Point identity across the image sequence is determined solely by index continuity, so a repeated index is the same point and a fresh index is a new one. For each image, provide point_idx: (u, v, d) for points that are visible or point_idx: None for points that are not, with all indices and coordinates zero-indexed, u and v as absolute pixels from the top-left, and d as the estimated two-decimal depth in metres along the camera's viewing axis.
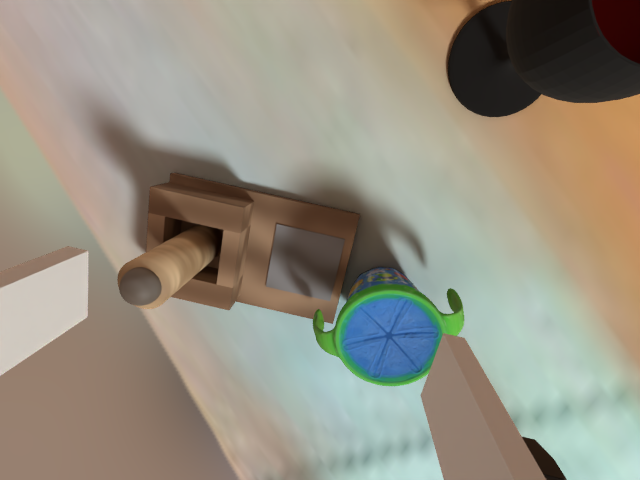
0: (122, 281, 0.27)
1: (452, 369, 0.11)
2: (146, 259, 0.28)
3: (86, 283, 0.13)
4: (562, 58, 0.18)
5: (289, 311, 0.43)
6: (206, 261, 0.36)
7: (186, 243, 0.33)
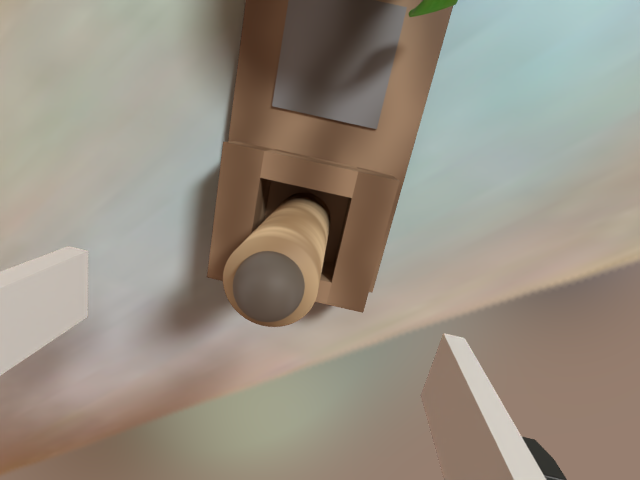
0: (245, 312, 0.15)
1: (451, 369, 0.11)
2: (224, 271, 0.16)
3: (86, 284, 0.13)
4: None
5: (425, 88, 0.25)
6: (305, 206, 0.23)
7: None
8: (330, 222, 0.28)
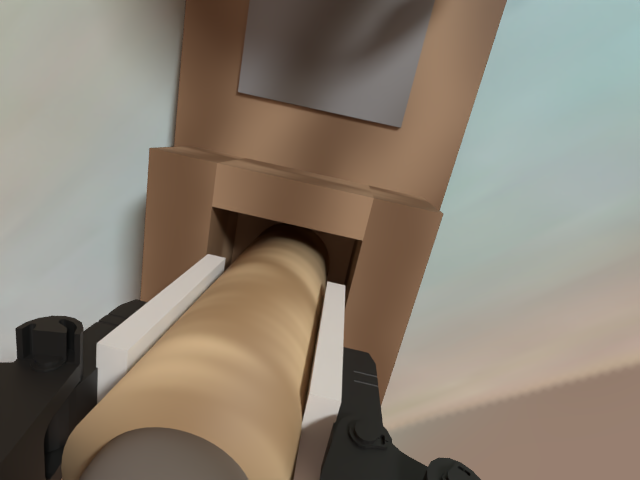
0: None
1: (322, 306, 0.13)
2: (69, 457, 0.07)
3: None
4: None
5: (479, 62, 0.15)
6: (284, 256, 0.13)
7: None
8: (328, 267, 0.18)
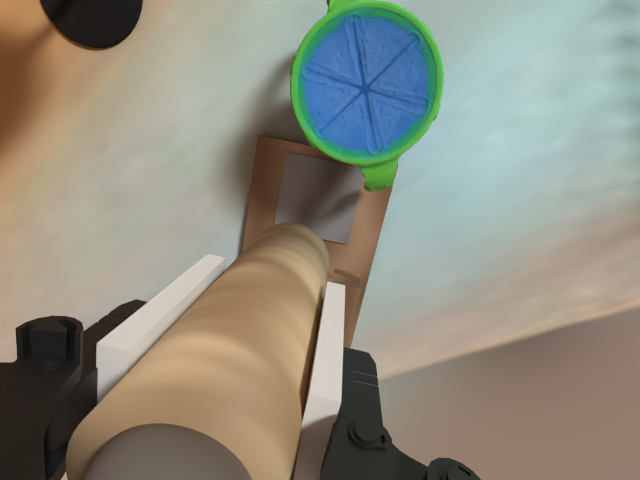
0: None
1: (322, 306, 0.13)
2: (73, 453, 0.07)
3: None
4: None
5: (380, 218, 0.35)
6: (285, 255, 0.14)
7: None
8: None
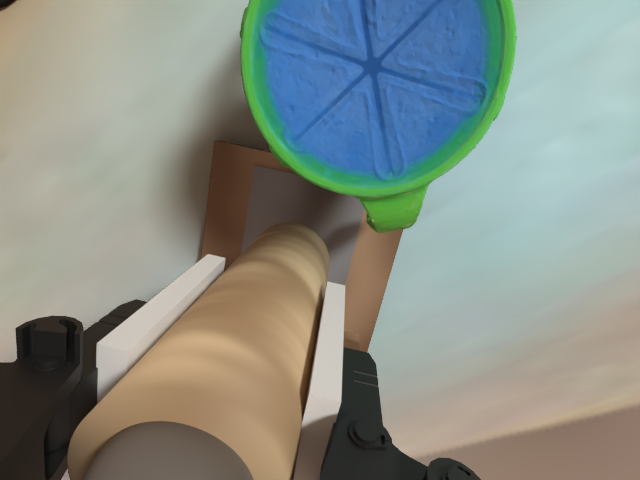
0: None
1: (322, 306, 0.13)
2: (74, 451, 0.07)
3: None
4: None
5: (389, 260, 0.25)
6: (285, 255, 0.14)
7: None
8: None
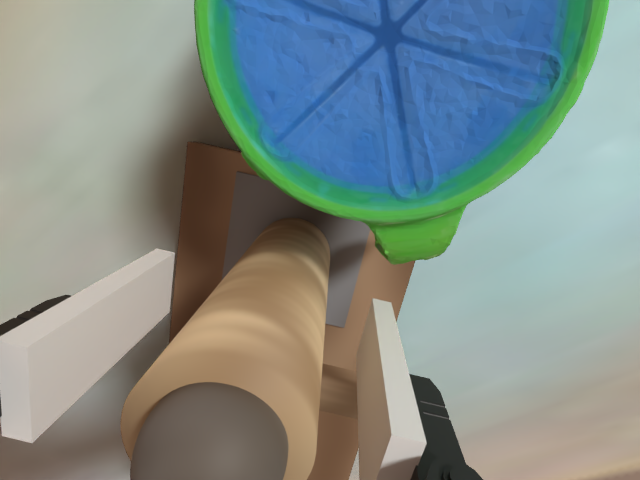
0: None
1: (372, 326, 0.12)
2: (125, 414, 0.08)
3: (171, 282, 0.14)
4: None
5: (401, 287, 0.20)
6: (293, 247, 0.15)
7: None
8: None
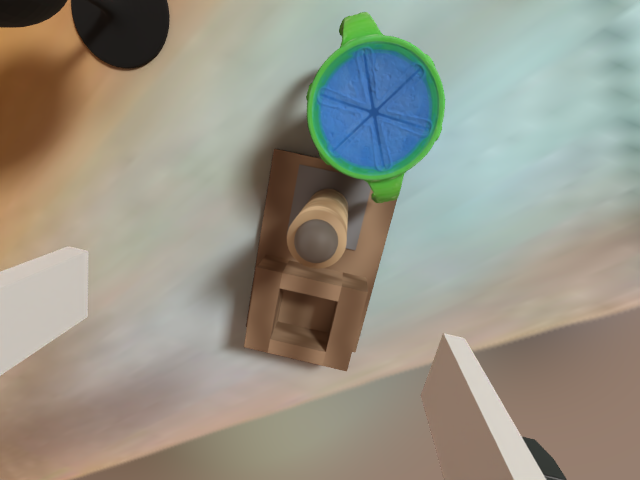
0: (302, 255, 0.24)
1: (451, 369, 0.11)
2: None
3: (86, 283, 0.13)
4: None
5: (386, 226, 0.38)
6: (332, 196, 0.32)
7: None
8: None
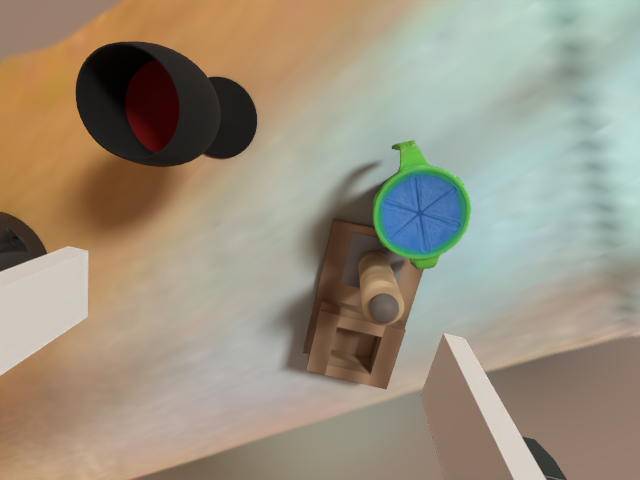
0: (376, 319, 0.35)
1: (451, 369, 0.11)
2: (363, 301, 0.37)
3: (86, 283, 0.13)
4: (185, 151, 0.30)
5: (418, 278, 0.49)
6: (383, 263, 0.43)
7: (363, 275, 0.42)
8: None
